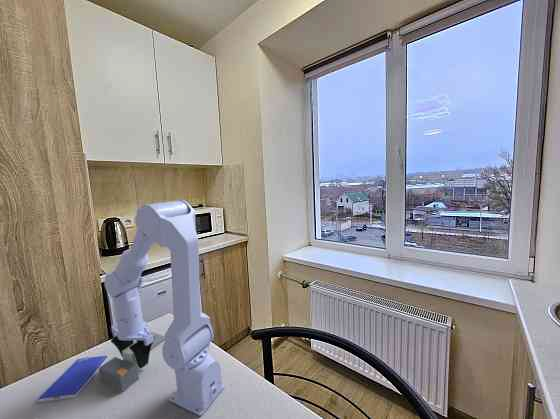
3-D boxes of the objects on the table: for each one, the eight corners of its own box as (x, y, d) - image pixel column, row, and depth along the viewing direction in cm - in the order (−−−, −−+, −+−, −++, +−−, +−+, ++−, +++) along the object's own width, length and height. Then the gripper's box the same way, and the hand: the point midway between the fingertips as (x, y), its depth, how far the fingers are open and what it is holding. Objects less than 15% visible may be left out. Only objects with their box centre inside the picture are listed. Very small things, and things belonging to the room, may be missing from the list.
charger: (149, 363, 66) (146, 344, 65) (127, 380, 60) (124, 360, 60) (139, 359, 67) (136, 341, 67) (117, 375, 62) (114, 355, 61)
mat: (167, 338, 76) (167, 337, 76) (143, 355, 69) (143, 354, 69) (150, 332, 79) (150, 331, 79) (125, 348, 72) (125, 347, 72)
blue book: (76, 358, 68) (36, 398, 56) (107, 355, 68) (74, 393, 56) (77, 364, 68) (38, 404, 56) (108, 360, 69) (75, 399, 56)
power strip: (139, 378, 60) (137, 363, 60) (122, 392, 57) (120, 376, 56) (117, 368, 64) (115, 354, 64) (100, 380, 61) (98, 365, 60)
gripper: (161, 311, 63) (167, 358, 65) (127, 302, 69) (133, 345, 71) (135, 326, 57) (143, 379, 58) (100, 315, 63) (108, 362, 65)
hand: (136, 362), depth 64 cm, fingers open, 6 cm apart
